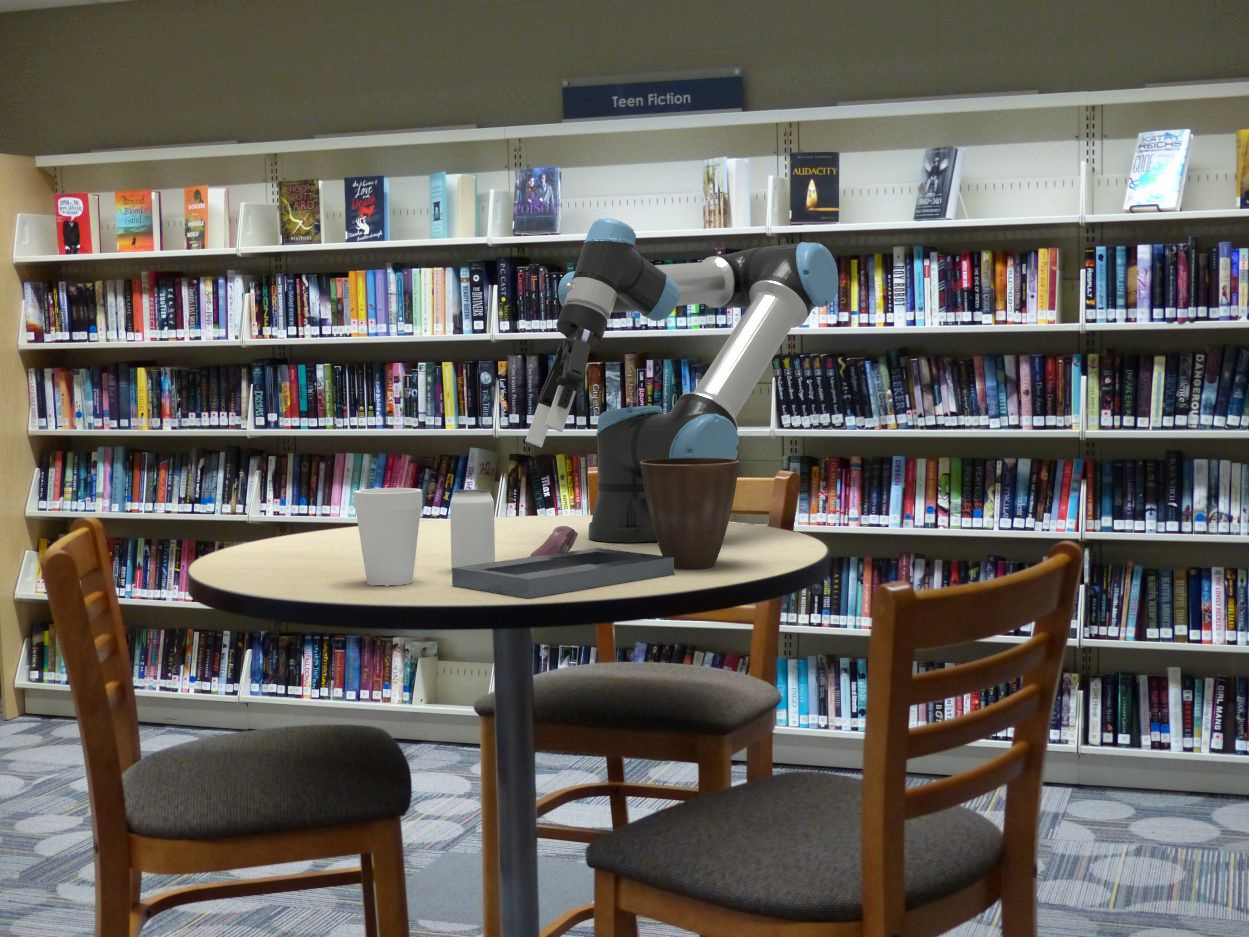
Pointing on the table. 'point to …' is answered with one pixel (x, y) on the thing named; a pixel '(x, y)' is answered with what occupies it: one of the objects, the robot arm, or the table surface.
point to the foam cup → (388, 533)
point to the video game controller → (557, 542)
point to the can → (472, 527)
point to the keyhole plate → (561, 572)
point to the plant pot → (690, 506)
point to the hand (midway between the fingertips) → (543, 436)
